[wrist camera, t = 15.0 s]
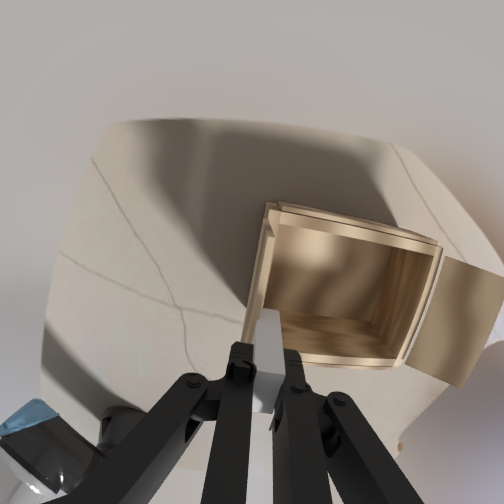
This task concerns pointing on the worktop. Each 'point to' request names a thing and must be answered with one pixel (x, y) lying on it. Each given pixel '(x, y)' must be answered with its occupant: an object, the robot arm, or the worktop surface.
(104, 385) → the worktop surface
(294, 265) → the carton
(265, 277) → the flap
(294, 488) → the robot arm
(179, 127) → the worktop surface
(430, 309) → the flap
